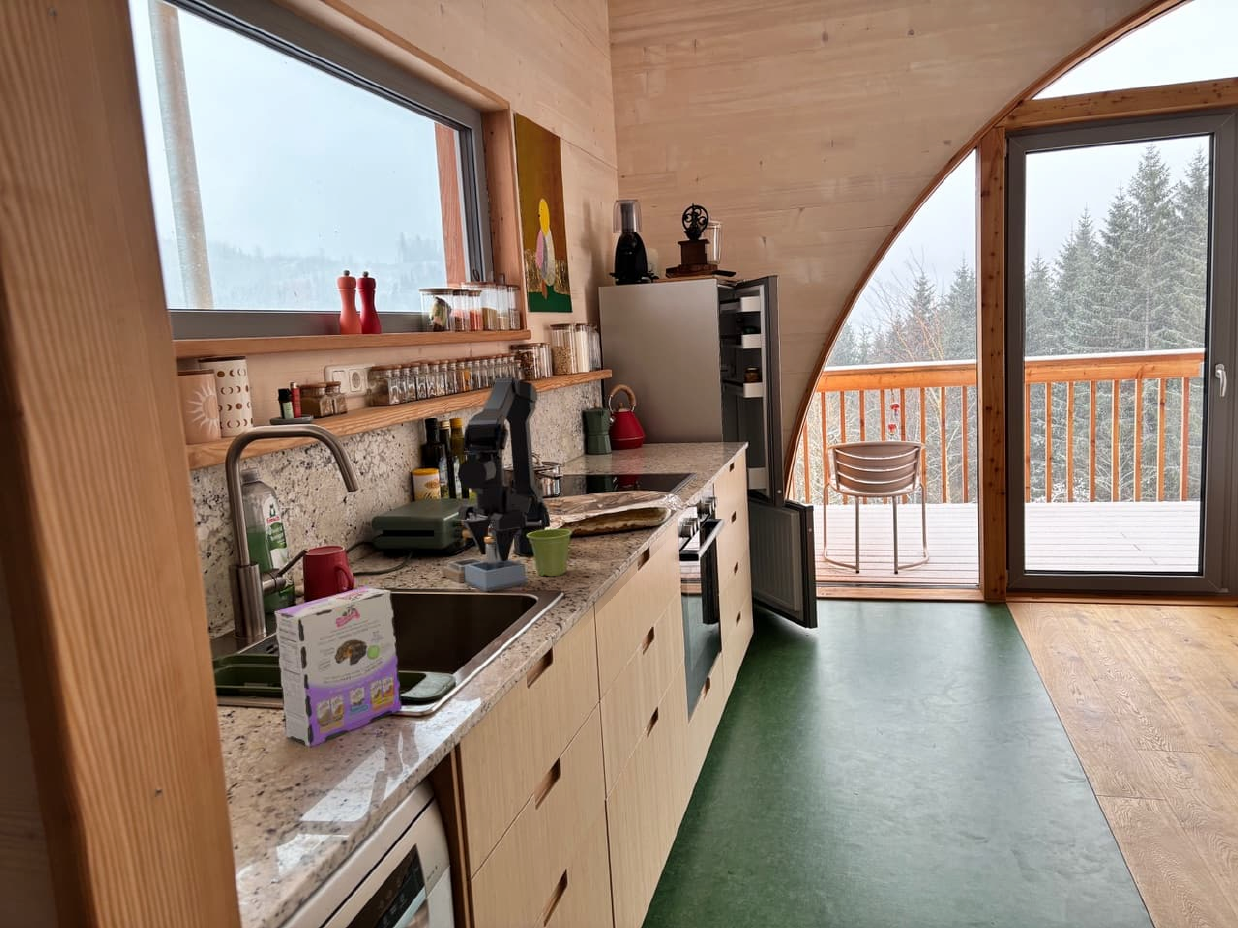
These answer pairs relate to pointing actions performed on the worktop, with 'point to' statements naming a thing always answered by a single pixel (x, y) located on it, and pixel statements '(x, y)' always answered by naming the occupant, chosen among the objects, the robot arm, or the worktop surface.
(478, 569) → the bin
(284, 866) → the worktop surface
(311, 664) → the candy box
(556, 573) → the plant pot
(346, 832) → the worktop surface
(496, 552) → the glass spice jar
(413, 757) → the worktop surface
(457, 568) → the beige shallow open box
